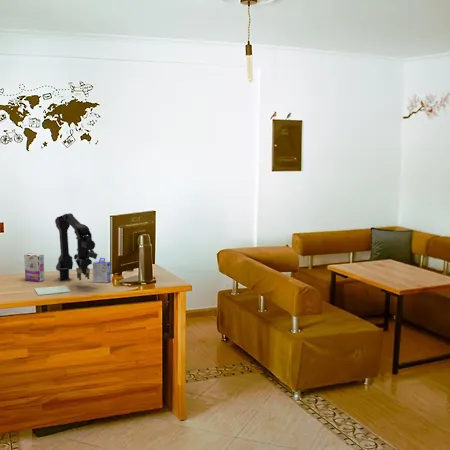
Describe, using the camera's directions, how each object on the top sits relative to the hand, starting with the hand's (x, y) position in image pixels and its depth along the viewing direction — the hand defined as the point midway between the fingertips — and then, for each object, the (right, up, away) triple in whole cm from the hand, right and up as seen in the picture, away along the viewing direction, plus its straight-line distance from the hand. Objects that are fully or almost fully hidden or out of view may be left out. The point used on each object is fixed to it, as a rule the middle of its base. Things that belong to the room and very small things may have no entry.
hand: (83, 273), depth 349 cm
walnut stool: (0, -3, 0) cm, 3 cm away
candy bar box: (-34, -6, +17) cm, 38 cm away
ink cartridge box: (+8, -7, +17) cm, 19 cm away
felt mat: (-16, -10, -7) cm, 20 cm away
